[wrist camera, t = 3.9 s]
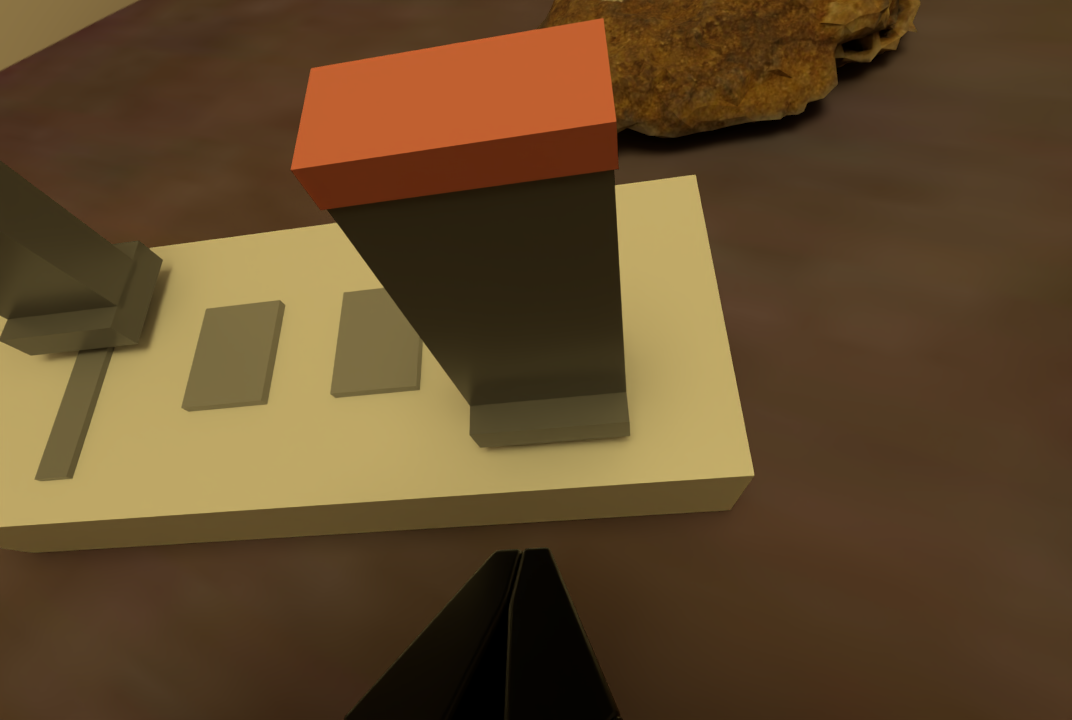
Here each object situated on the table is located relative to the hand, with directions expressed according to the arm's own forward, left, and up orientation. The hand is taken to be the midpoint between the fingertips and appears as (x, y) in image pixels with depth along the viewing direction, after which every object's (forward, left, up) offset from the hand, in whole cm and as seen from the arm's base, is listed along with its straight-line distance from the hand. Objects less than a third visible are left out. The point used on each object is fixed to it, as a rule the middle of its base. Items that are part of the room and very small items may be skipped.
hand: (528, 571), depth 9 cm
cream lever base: (-1, +10, -9) cm, 13 cm away
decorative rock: (+19, +12, -9) cm, 25 cm away
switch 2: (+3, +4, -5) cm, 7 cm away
